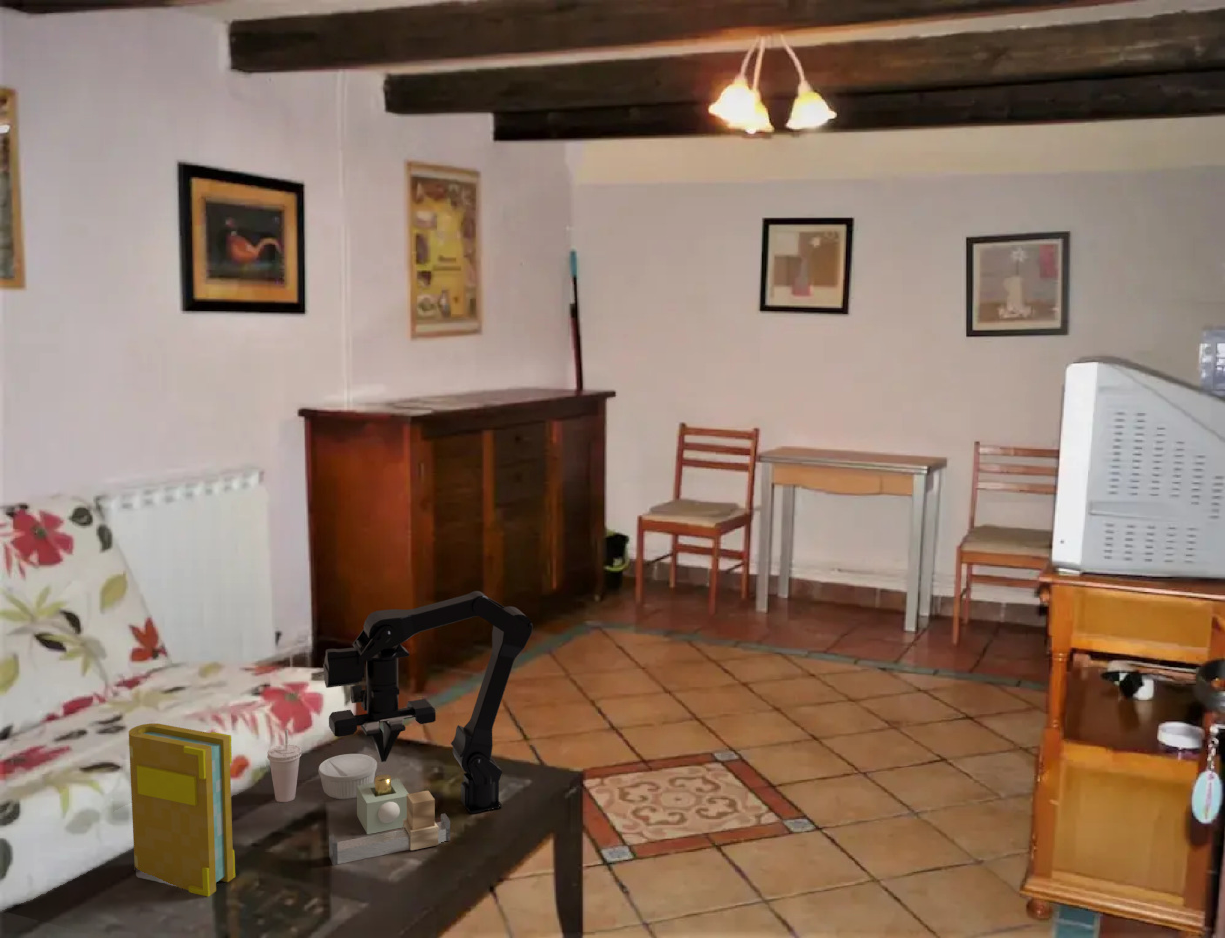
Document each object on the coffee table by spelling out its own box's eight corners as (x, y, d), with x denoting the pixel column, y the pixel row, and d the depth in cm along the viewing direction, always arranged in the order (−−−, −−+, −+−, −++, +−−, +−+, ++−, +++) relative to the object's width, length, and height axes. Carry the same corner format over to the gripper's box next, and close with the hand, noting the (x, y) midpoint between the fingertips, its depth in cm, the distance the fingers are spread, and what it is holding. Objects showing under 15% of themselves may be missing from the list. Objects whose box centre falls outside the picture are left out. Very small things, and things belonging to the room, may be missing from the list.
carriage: (429, 832, 197) (429, 788, 195) (438, 845, 192) (438, 800, 191) (403, 837, 194) (402, 793, 193) (411, 850, 190) (410, 805, 189)
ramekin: (307, 796, 211) (307, 770, 210) (340, 773, 221) (340, 749, 220) (356, 806, 207) (355, 780, 206) (387, 783, 217) (387, 758, 217)
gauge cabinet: (398, 807, 207) (398, 778, 206) (410, 826, 199) (410, 795, 198) (357, 815, 203) (356, 785, 202) (367, 834, 196) (367, 803, 195)
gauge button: (389, 794, 203) (388, 773, 202) (393, 800, 200) (393, 779, 199) (373, 797, 201) (373, 776, 201) (377, 803, 199) (377, 782, 198)
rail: (445, 833, 197) (445, 813, 196) (450, 841, 194) (450, 820, 194) (329, 857, 188) (329, 835, 187) (332, 865, 185) (332, 843, 184)
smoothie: (292, 806, 206) (290, 737, 204) (261, 803, 207) (260, 734, 205) (308, 792, 212) (307, 725, 210) (278, 788, 213) (277, 721, 211)
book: (235, 876, 180) (231, 735, 177) (208, 896, 174) (203, 750, 170) (154, 857, 186) (148, 720, 182) (125, 876, 180) (118, 734, 176)
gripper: (419, 661, 208) (419, 737, 211) (322, 673, 200) (323, 752, 203) (436, 679, 199) (436, 759, 201) (334, 693, 190) (336, 776, 193)
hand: (383, 760), depth 200 cm, fingers closed
